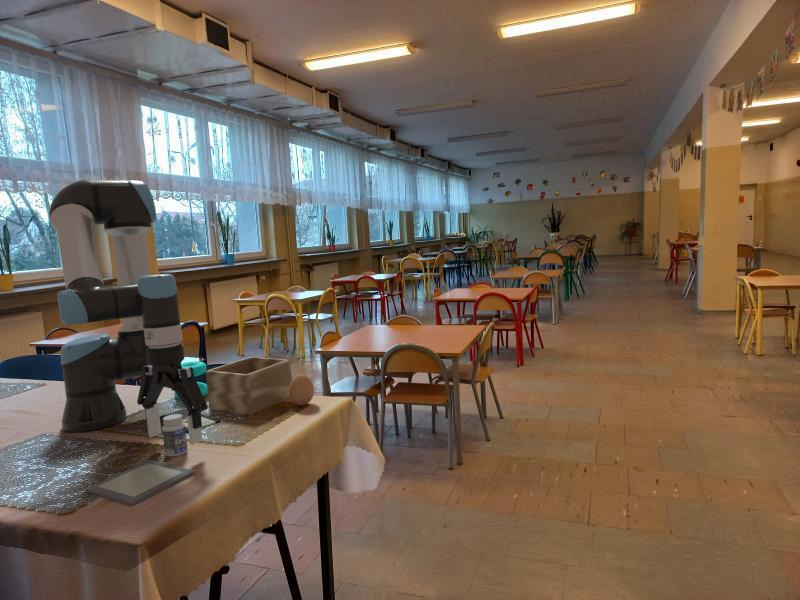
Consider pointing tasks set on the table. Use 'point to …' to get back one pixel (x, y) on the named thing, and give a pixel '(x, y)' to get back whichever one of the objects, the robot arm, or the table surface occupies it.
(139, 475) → the coaster
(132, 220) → the robot arm
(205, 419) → the chocolate bar
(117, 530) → the table surface
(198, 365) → the donuts
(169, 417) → the pill bottle
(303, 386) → the egg
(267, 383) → the bin
